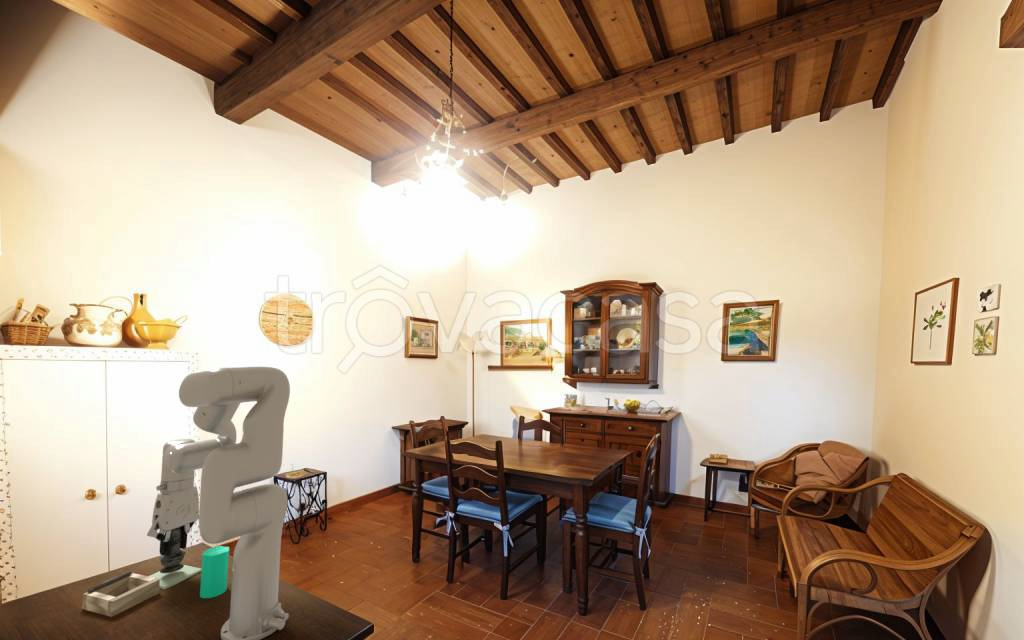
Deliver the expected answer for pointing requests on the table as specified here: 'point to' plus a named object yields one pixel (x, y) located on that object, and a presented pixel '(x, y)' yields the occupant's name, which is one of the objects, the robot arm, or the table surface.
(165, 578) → the mat
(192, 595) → the table surface
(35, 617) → the table surface
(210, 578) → the candle
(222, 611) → the table surface
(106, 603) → the holder
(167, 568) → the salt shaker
